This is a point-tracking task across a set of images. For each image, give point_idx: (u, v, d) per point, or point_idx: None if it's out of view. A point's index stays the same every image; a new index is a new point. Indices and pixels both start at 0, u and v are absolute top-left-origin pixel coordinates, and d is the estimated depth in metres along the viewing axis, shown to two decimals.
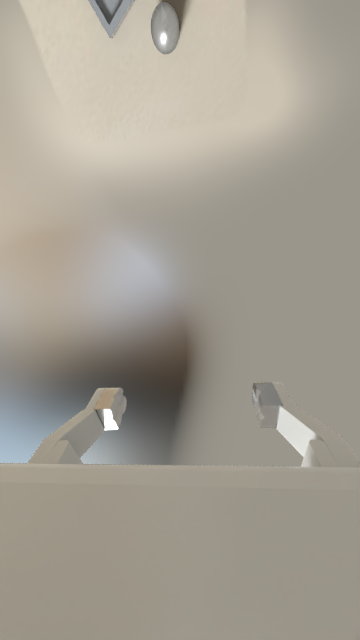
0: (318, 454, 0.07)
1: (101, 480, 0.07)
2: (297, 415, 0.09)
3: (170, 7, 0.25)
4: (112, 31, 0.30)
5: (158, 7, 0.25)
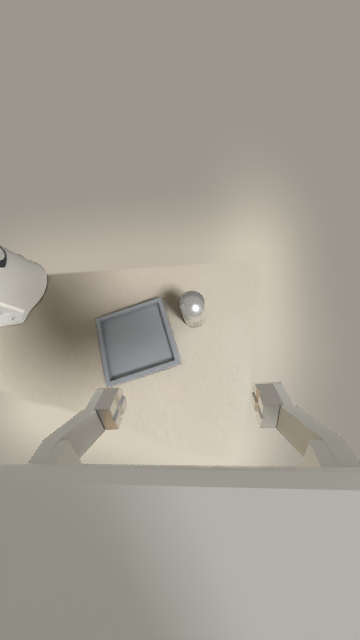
0: (318, 454, 0.07)
1: (101, 480, 0.07)
2: (297, 415, 0.09)
3: (183, 295, 0.30)
4: (178, 359, 0.34)
5: (180, 304, 0.30)
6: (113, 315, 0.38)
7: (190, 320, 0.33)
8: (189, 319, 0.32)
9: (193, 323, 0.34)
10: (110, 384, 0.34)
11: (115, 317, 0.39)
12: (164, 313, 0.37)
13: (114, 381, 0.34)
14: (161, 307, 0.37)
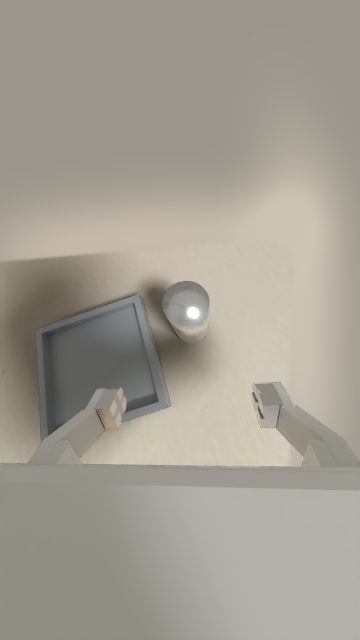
0: (318, 454, 0.07)
1: (101, 480, 0.07)
2: (297, 415, 0.09)
3: (170, 288, 0.16)
4: (164, 400, 0.20)
5: (164, 305, 0.16)
6: (63, 323, 0.24)
7: (184, 334, 0.19)
8: (182, 332, 0.18)
9: (190, 337, 0.20)
10: None
11: (68, 327, 0.25)
12: (143, 320, 0.23)
13: None
14: (138, 310, 0.23)
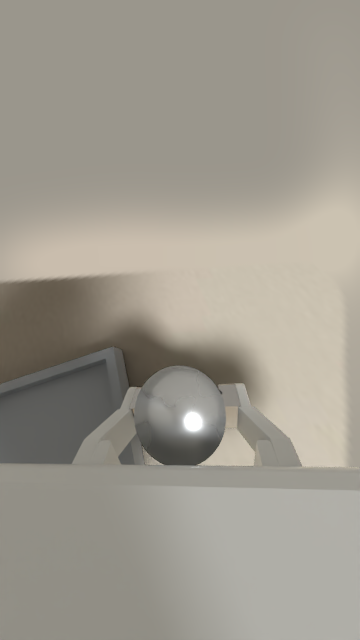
0: (263, 454, 0.07)
1: (101, 480, 0.07)
2: (252, 416, 0.09)
3: (151, 381, 0.09)
4: None
5: (137, 417, 0.08)
6: (2, 389, 0.16)
7: None
8: None
9: None
10: None
11: (11, 392, 0.17)
12: (117, 391, 0.15)
13: None
14: (112, 374, 0.15)
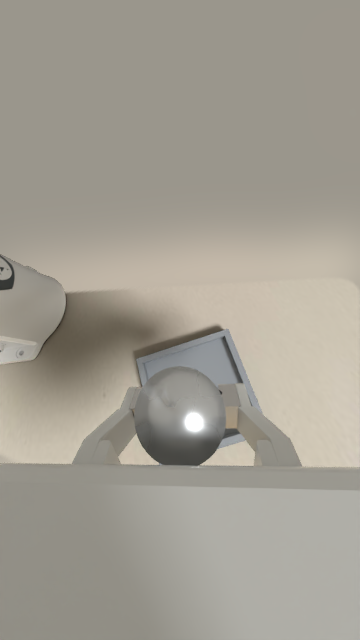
0: (263, 454, 0.07)
1: (101, 480, 0.07)
2: (252, 416, 0.09)
3: (151, 381, 0.09)
4: None
5: (137, 418, 0.08)
6: (161, 354, 0.27)
7: None
8: None
9: None
10: None
11: (163, 356, 0.28)
12: (236, 353, 0.26)
13: None
14: (230, 344, 0.26)
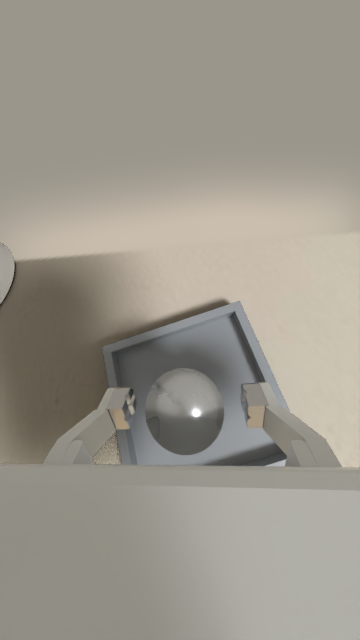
0: (299, 454, 0.07)
1: (101, 480, 0.07)
2: (281, 415, 0.09)
3: (159, 381, 0.10)
4: None
5: (148, 412, 0.10)
6: (139, 339, 0.18)
7: None
8: None
9: None
10: None
11: (143, 343, 0.19)
12: (253, 336, 0.17)
13: None
14: (244, 323, 0.17)
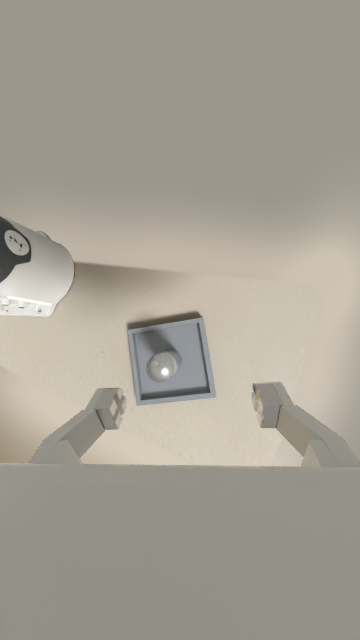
0: (318, 454, 0.07)
1: (100, 480, 0.07)
2: (297, 415, 0.09)
3: (152, 357, 0.27)
4: (214, 392, 0.32)
5: (147, 367, 0.27)
6: (147, 329, 0.34)
7: None
8: None
9: None
10: (141, 403, 0.33)
11: (149, 331, 0.35)
12: (204, 338, 0.33)
13: (145, 401, 0.33)
14: (202, 330, 0.33)
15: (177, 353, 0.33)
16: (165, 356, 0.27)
